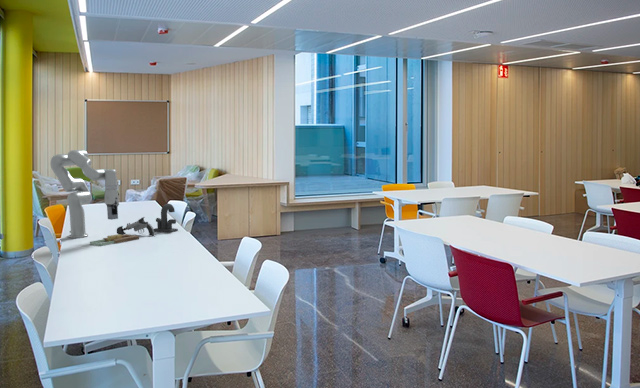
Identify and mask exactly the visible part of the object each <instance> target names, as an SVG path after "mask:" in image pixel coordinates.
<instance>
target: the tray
mask: <svg viewBox="0 0 640 388" xmlns="http://www.w3.org/2000/svg"><path fill="white" fill-rule="evenodd" d="M113 244H116V243H115V241H110V242H105V239H103V238H102V239H96V240H93V241H92V240H91V241H89V245H92V246H98V247H102V246H107V245H113Z"/></svg>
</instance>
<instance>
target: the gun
mask: <svg viewBox="0 0 640 388" xmlns="http://www.w3.org/2000/svg"><path fill="white" fill-rule="evenodd" d="M145 218H146V217H145V216H143V217H141V218H139V219H138V220H136V221H135V222H132V223H131V222H128V223H126V226H125V227H124V226H123V225H121V226H118V227H117V228H116V235H117V234H120V235H125V234H127V233H126V232H125V231H127V230H128V231H129V230H132V229H133V231H134V232H137V233H138V234H139V235H141V234H143V233H145V228H146V230H147V231H148V234H149V237H153V236H154V235H155V232H154V229H155V228H154V227H153V225H152V224H150V223H149V221H145Z"/></svg>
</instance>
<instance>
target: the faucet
mask: <svg viewBox="0 0 640 388" xmlns="http://www.w3.org/2000/svg"><path fill="white" fill-rule="evenodd" d="M175 212H176V211H175V207H174V206H173V204H171V203H165V204H164V205H163V206H162V207H161V210H160V218H159V217H156V218H155V222H156V224H157V225H156V226H157V227H156V228H153V229H154V233H168V234H169V233H170V234H171V233H175V232H179V229H178V228H174V227H173V225H176V223H177V220H176V219H175V218H173V219H172V218H171V219H168V213H175Z"/></svg>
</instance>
